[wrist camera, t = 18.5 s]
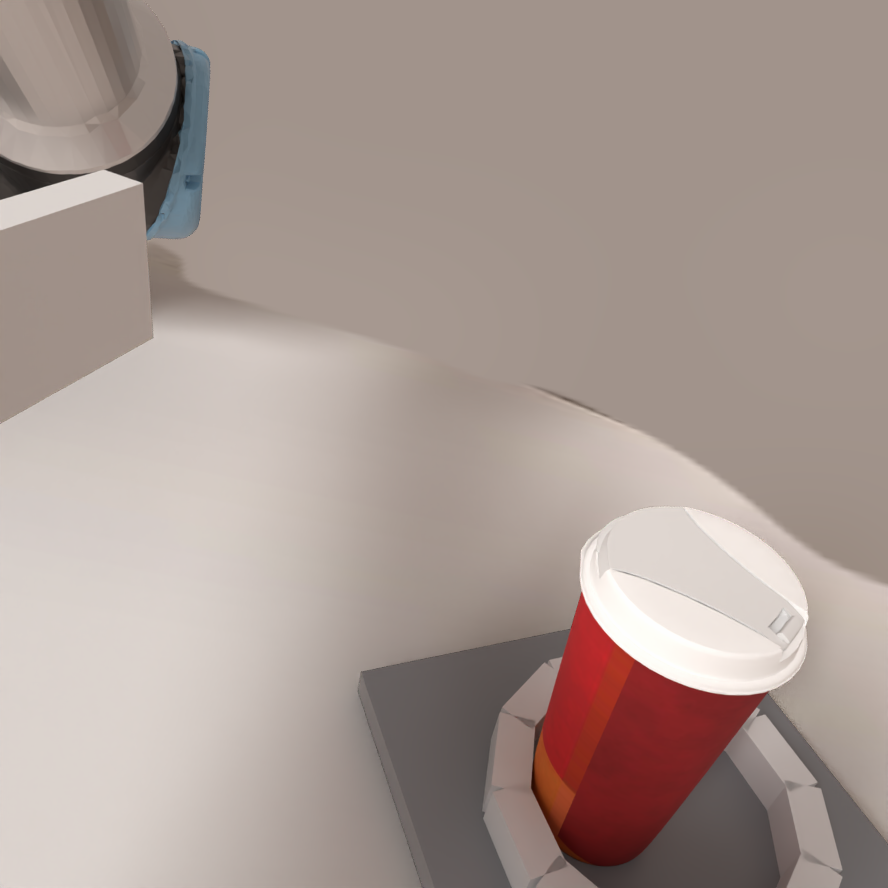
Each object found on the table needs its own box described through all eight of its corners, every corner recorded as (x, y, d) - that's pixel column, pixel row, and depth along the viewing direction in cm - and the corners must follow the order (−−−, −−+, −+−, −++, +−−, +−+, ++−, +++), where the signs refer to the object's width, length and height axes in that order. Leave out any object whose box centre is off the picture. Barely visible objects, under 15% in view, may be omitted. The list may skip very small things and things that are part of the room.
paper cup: (709, 807, 34) (857, 584, 26) (618, 940, 29) (767, 714, 21) (567, 693, 38) (658, 467, 30) (464, 792, 33) (540, 553, 25)
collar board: (357, 691, 38) (365, 644, 36) (687, 620, 45) (708, 578, 43) (538, 1239, 23) (567, 1211, 21) (979, 1000, 31) (1031, 964, 29)
